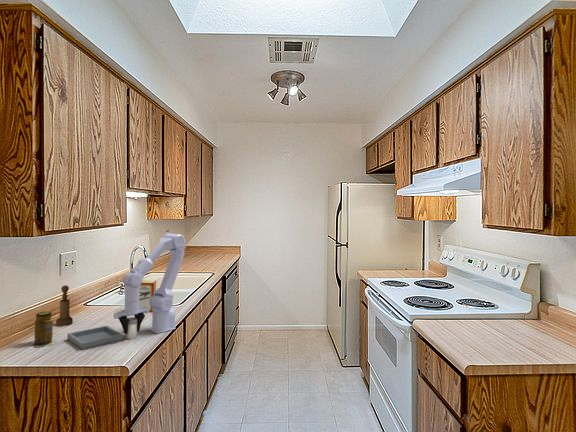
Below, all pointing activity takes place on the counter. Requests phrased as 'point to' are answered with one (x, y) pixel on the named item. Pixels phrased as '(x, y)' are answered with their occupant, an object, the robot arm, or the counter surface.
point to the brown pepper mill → (64, 309)
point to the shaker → (132, 328)
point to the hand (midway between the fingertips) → (131, 332)
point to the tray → (94, 337)
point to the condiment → (43, 330)
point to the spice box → (146, 294)
